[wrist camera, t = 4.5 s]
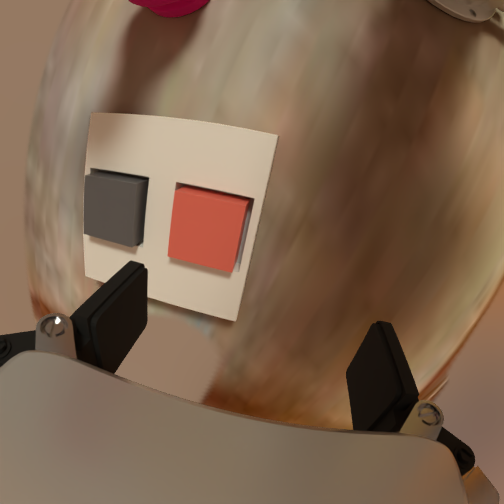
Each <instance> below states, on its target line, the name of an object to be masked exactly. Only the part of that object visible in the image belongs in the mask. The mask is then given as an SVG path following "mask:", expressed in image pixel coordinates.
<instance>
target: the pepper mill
mask: <svg viewBox="0 0 504 504" xmlns="http://www.w3.org/2000/svg"><path fill="white" fill-rule="evenodd" d="M129 1H130V2H132V3H133V4H136V5H139V6H143V7H148V8H149V9H150V10H152V11H153V12H154V13H156V14H158V15H160V16H163V17H180V16H184V15H187V14H190V13H192V12H194V11H196V10H198V9H199V8H201V7H202V6H203V5H205V4H206V3H207V2H208V1H209V0H129Z"/></svg>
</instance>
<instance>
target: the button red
mask: <svg viewBox="0 0 504 504" xmlns="http://www.w3.org/2000/svg"><path fill="white" fill-rule="evenodd" d="M249 203H250V198H245V197H241V196H236V195H232V194H227V193H223V192H218V191H213V190H208V189H204V188H199V187H194V186H189V185H186V186H184V187H182V188H180V189H178V190H176V191H175V193H174V200H173V208H172V217H171V225H170V235H169V245H168V255H167V256H168V257H172V258H176V259H179V260H183V261H187V262H191V263H195V264H199V265H203V266H207V267H211V268H215V269H219V270H223V271H227V272H231V273H232V272H233V269H234V267H235V264H236V262H237V260H238V255H239V250H240V246H241V241H242V236H243V231H244V227H245V222H246V217H247V212H248V208H249Z"/></svg>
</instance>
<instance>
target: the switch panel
mask: <svg viewBox="0 0 504 504" xmlns="http://www.w3.org/2000/svg"><path fill="white" fill-rule="evenodd" d="M278 139H279V136H278V135H274V134H270V133H265V132H260V131H256V130H251V129H245V128H240V127H234V126H229V125H223V124H217V123H210V122H203V121H196V120H189V119H180V118H172V117H162V116H151V115H138V114H121V113H91V119H90V126H89V134H88V142H87V152H86V163H85V175H87V174H91V173H95V172H99V171H108V172H114V173H120V174H127V175H133V176H138V177H144V178H149V185H148V194H147V204H146V215H145V228H144V239H143V240H141V241H140V242H139V243H138V244H136V245H135V246H134V247H128V246H125V245H121V244H118V243H114V242H110V241H107V240H103V239H100V238H96V237H93V236H89V235H86V234H84V221H83V239H84V262H85V276H87V277H90V278H92V279H95V280H98V281H101V282H104V283H106V282H107V281H108V280H109V279H110V278H111V277H112V276H113V275H114V274H116V273H117V272H118V271H119V270H120V269H121V268H122V267H123V266H124V265H126V264H127V263H128V262H129V261H131V260H132V261H136V262H139V263H143V264H144V266H145V268H147V269H148V291H147V297H149V298H153V299H156V300H159V301H162V302H166V303H169V304H173V305H176V306H179V307H183V308H187V309H190V310H194V311H197V312H201V313H205V314H208V315H212V316H216V317H220V318H224V319H228V320H232V321H236V319H237V316H238V312H239V309H240V305H241V302H242V297H243V293H244V288H245V284H246V280H247V275H248V271H249V267H250V262H251V258H252V253H253V249H254V245H255V240H256V236H257V232H258V227H259V223H260V218H261V214H262V210H263V205H264V201H265V197H266V192H267V188H268V183H269V179H270V175H271V170H272V166H273V161H274V157H275V153H276V148H277V144H278ZM84 182H85V177H84ZM186 185H189V186H194V187H199V188H204V189H208V190H213V191H218V192H223V193H227V194H232V195H236V196H241V197H245V198H250V203H249V208H248V212H247V217H246V222H245V227H244V231H243V236H242V241H241V246H240V250H239V255H238V260H237V262H236V264H235V267H234V269H233V272H232V273H231V272H227V271H223V270H219V269H215V268H211V267H207V266H203V265H199V264H195V263H191V262H187V261H183V260H179V259H176V258H172V257H168V256H167V255H168V245H169V235H170V225H171V217H172V208H173V200H174V193H175V191H176V190H178V189H180V188H182V187H184V186H186ZM83 218H84V199H83Z"/></svg>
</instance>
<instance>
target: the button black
mask: <svg viewBox="0 0 504 504" xmlns="http://www.w3.org/2000/svg"><path fill="white" fill-rule="evenodd" d="M148 185H149V178H144V177H138V176H133V175H127V174H120V173H114V172H108V171H99V172H95V173H91V174H87V175H85V182H84V218H83V221H84V234H86V235H89V236H93V237H96V238H100V239H103V240H107V241H110V242H114V243H118V244H121V245H125V246H128V247H134V246H135V245H136V244H138V243H139V242H140V241H141V240H143V239H144V228H145V215H146V204H147V194H148Z"/></svg>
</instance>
